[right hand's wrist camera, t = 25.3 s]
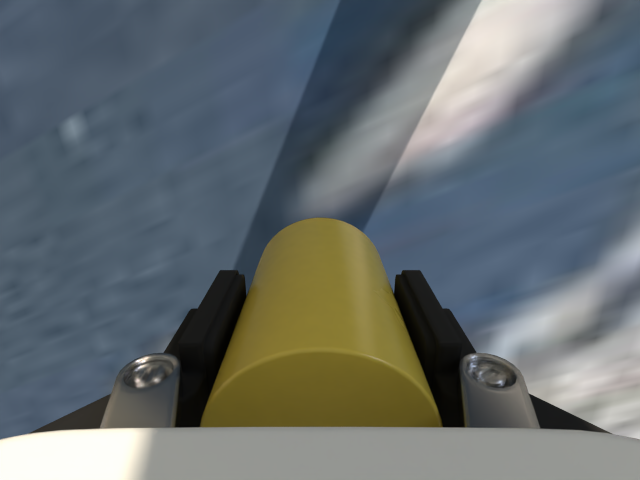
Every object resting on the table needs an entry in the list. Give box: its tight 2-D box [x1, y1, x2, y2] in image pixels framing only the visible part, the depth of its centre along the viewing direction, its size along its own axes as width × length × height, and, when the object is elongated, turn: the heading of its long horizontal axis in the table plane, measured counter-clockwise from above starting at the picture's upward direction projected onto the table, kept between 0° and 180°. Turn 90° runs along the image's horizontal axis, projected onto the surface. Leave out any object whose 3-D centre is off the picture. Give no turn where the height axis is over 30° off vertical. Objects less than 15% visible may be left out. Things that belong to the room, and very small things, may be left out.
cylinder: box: [200, 218, 443, 427], centre depth 11 cm, size 5×5×8 cm
